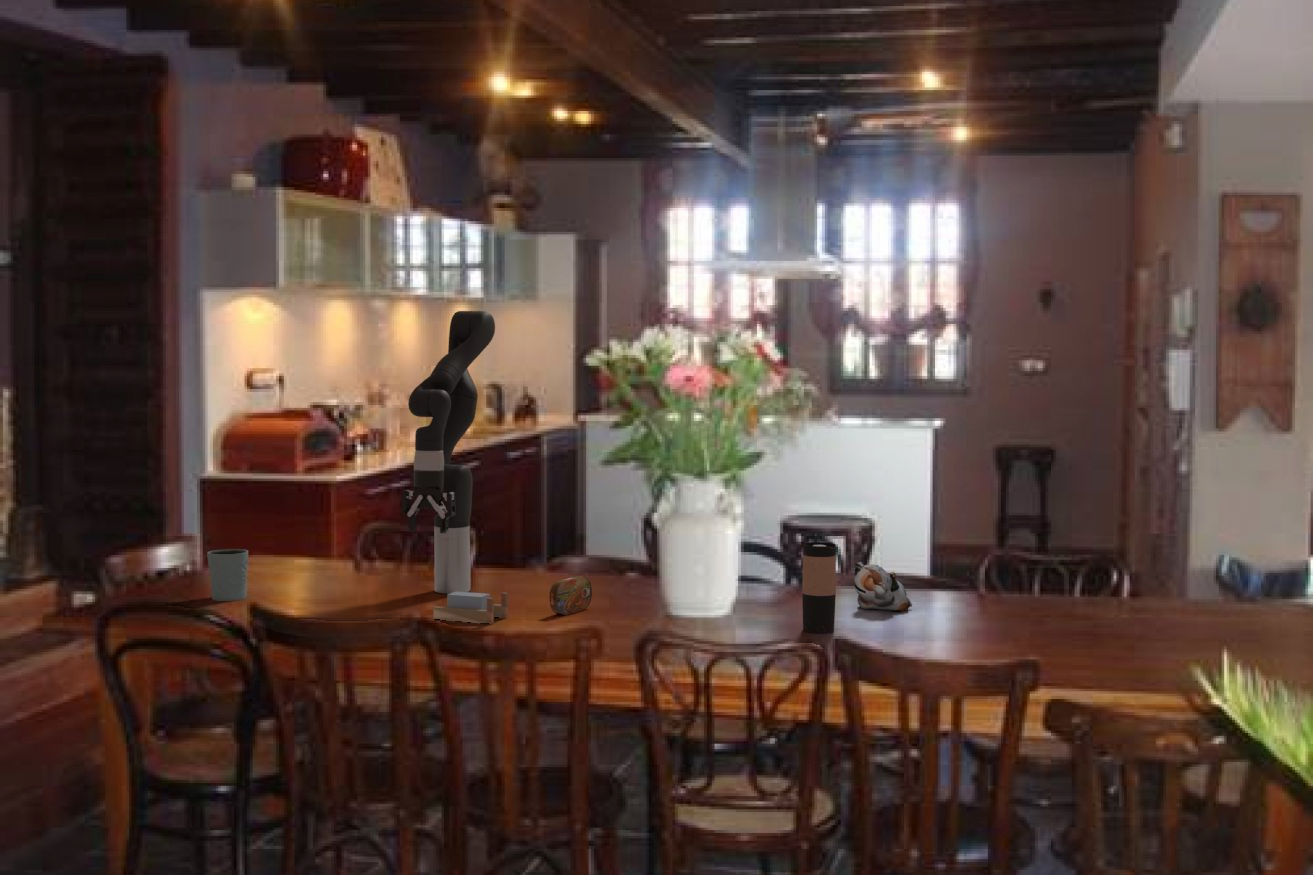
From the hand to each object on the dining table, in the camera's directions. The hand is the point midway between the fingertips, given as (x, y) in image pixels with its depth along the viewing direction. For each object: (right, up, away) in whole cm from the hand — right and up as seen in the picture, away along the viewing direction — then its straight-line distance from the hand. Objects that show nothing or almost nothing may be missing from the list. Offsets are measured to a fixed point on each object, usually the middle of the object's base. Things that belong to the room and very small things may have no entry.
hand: (428, 532), depth 388 cm
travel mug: (+95, -21, -35) cm, 103 cm away
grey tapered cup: (-51, -17, +2) cm, 54 cm away
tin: (+37, -19, -14) cm, 44 cm away
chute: (+13, -19, -23) cm, 33 cm away
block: (+13, -19, -23) cm, 33 cm away
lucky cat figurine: (+114, -19, -7) cm, 115 cm away
